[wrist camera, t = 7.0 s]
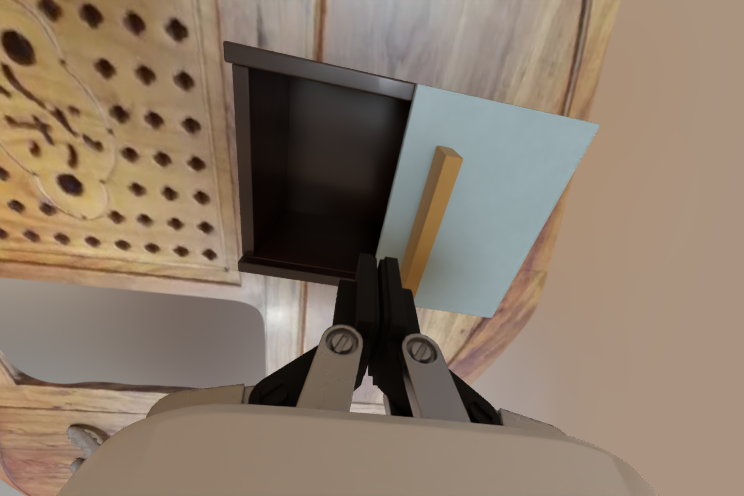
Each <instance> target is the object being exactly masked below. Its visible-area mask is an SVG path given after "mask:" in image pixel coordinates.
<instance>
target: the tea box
mask: <svg viewBox="0 0 744 496" xmlns="http://www.w3.org/2000/svg"><path fill="white" fill-rule="evenodd" d="M223 45H224V59H225V61H226V62H228V63H233V64H232V70H233V88H234V107H235V125H236V143H237V161H238V179H239V198H240V216H241V234H242V252H243V256H242V257H241V259H240V260H239V261H238V271H240V272H247V273H253V274H260V275H267V276H273V277H280V278H287V279H293V280H300V281H306V282H313V283H320V284H326V285H333V286H338V285H339V279H342V280H349V281H355V276H356V271H357V266H358V261H359V256H360V253H366V254H372V255H373V258H375V256H376V252H377V248H378V244H379V239H380V235H381V231H382V226H383V222H384V218H385V214H386V209H387V205H388V201H389V197H390V192H391V188H392V184H393V180H394V175H395V171H396V167H397V163H398V158H399V154H400V150H401V145H402V141H403V137H404V133H405V128H406V124H407V120H408V116H409V111H410V107H411V103H412V99H413V94H414V90H415V86H416V83H412V82H408V81H403V80H399V79H394V78H390V77H385V76H381V75H376V74H372V73H367V72H363V71H358V70H354V69H350V68H345V67H341V66H336V65H332V64H327V63H323V62H318V61H314V60H309V59H305V58H300V57H296V56H291V55H287V54H282V53H278V52H274V51H269V50H265V49H260V48H256V47H251V46H247V45H242V44H238V43H233V42H229V41H224V42H223Z"/></svg>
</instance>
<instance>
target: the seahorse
mask: <svg viewBox="0 0 744 496" xmlns="http://www.w3.org/2000/svg"><path fill="white" fill-rule="evenodd" d="M66 432H67V433H66V435H67V436H69V437H68V439H71V443H75V445H74V446H75V447H79V446H81V449H82V450H85V457H87V458H86V459H85V460H84V461H83V462H82V459H77V460H75V461H74V462H73V463H72V464H71V465H70V470H72V473H73V475H74V473H75V472H76V471H77V470H78V469H79V468H80V467H81V465H82V464H83V463H84V462H85V461H86V460H87V459H88V458H89V457H90V456H91V455H92V454H93V453H94V452H95V450H96V449H97V448H98V447H99V446H100V445H101V444H99V443H98V442H97V439H96V438H93V437H92V436H91V433H87V432H86V431H84V428H81V429H80V428H78V427H75V426H74V427H69V428H68V429H67V430H66Z"/></svg>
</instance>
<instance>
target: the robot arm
mask: <svg viewBox="0 0 744 496" xmlns="http://www.w3.org/2000/svg"><path fill="white" fill-rule="evenodd" d="M367 366H368V376H373V385H377V386H378V388H379V389H380V390H381V391H382V392H383V393H384V394H383V402H384V407H385V412H386V415H379V414H368V413H356V412H349V411H350V406H351V401H352V396H353V391H355V390H356V389H357V388H358V387H359V386H360V385H361V383H362V380H363V376H364V375H365V373H366V369H367ZM57 496H659V495H658V494H657V492H656V491H655V490H654V489H653V488H652V487H651V485H650V484H649V483H648V482H647V481H646V480H645V479H644V478H643V477H642V476H641V475H640V474H639V473H638V472H637V471H636V470H635V469H634V468H633V467H631V466H630V465H629V464H628V463H626V462H624V461H623V460H621V459H620V458H618V457H616V456H615V455H613V454H611V453H609V452H608V451H605V450H603V449H601V448H599V447H597V446H595V445H593V444H590V443H587V442H585V441H582V440H580V439H576V438H574V437H571V436H567V435H566V434H565V433H564V432H562V431H561V430H560V429H558V428H556V427H554V426H552V425H550V424H546V423H543V422H541V421H538V420H534V419H531V418H528V417H525V416H522V415H519V414H516V413H513V412H510V411H507V410H504V409H501V408H500V409H499V410H498V411H497V410H495V409H494V407H493V406H492V405H491V404H490V403H489V402H488V401H486V400H485V399H484V398H483V397H482V396H481V395H479V394H478V393H477V392H476V391H475V390H473V389H472V388H471V387H470V386H469V385H467V384H466V383H465V382H464V381H463V380H461V379H460V378H459V377H458V376H457V375H455V374H454V373H453V372H452V371H451V370H450V369H448V367H447V364H446V362H445V359H444V357H443V355H442V352H441V350H440V348H439V346H438V345H437V344H436V343H435V342H434V341H433V340H432V339H431V338H429V337H428V336H425V335H422V334H420V329H419V324H418V319H417V313H416V308H415V303H414V298H413V293H412V290H411V289H406V288H402V283H401V276H400V270H399V263H398V259H397V258H392V257H386V256H385V258H384V259H380V261H379V264H378V269H377V258H373V255H372V254H366V253H360V256H359V261H358V266H357V271H356V276H355V281H349V280H342V279H339V285H338V291H337V297H336V304H335V311H334V318H333V325H332V326H331V327H329V328H328V329H327V330H325V332H324V333H323V335H322V337H321V340H320V343H319V345H318V346H316V347H314V348H313V349H311V350H310V351H308V352H306V353H305V354H303V355H302V356H300V357H298V358H297V359H295V360H293V361H292V362H290V363H289V364H287V365H285V366H284V367H282V368H281V369H279V370H277V371H276V372H274V373H272V374H271V375H269V376H268V377H266V378H264V379H263V380H261V381H260V382H259V383H258V384H256V385H255V386H247V387H245V386H244V384H237V385H229V386H220V387H212V388H204V389H195V390H187V391H179V392H175V393H172V394H169V395H167V396H165V397H163V398H162V399H160V400H159V401H158V402H157V403H156V404H155V405H154V406H152V408H151V409H150V411H149V413H148V414H147V416H146V418H145V419H142V420H140V421H137V422H135V423H133V424H131V425H129V426H127V427H125V428H123V429H121V430H120V431H118V432H117V433H115V434H114V435H113V436H111V437H110V438H109V439H108V440H106V441H105V442H104V443H103V444H102V445H100V446H99V447H98V448H97V449H96V450H95V452H94V453H93V454H92V455H91V456H90V457H89V458H88V459H87V460H86V461H85V462H84V463H83V464H82V465H81V467H80V468H79V469H78V470H77V471H76V472H75V473H74V475H73V476H72V477H71V478H70V479H69V481H68V482H67V483H66V484H65V486H64V487H63V488H62V489H61V490H60V492H59V493H58V494H57Z"/></svg>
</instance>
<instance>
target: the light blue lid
mask: <svg viewBox="0 0 744 496" xmlns="http://www.w3.org/2000/svg"><path fill="white" fill-rule="evenodd" d="M599 127H600V125H599V124H596V123H592V122H587V121H583V120H578V119H574V118H569V117H565V116H560V115H556V114H551V113H547V112H543V111H538V110H534V109H529V108H525V107H520V106H516V105H511V104H507V103H502V102H498V101H493V100H489V99H484V98H480V97H475V96H471V95H466V94H462V93H458V92H453V91H449V90H444V89H440V88H435V87H431V86H426V85H422V84H416V86H415V90H414V94H413V99H412V103H411V107H410V111H409V116H408V120H407V124H406V128H405V133H404V137H403V141H402V145H401V150H400V154H399V158H398V163H397V167H396V171H395V175H394V180H393V184H392V188H391V192H390V197H389V201H388V205H387V209H386V214H385V218H384V222H383V226H382V231H381V235H380V239H379V244H378V248H377V252H376V256H375V258H377V269H378V264H379V261H380V259H384V258H385V256H386V257H392V258H397V259H398V263H399V270H400V276H401V283H402V288H406V289H411V290H412V293H413V298H414V303H415V307H420V308H427V309H434V310H440V311H447V312H454V313H461V314H468V315H474V316H481V317H488V318H492V317H493V315H494V313H495V311H496V309H497V308H498V306H499V304H500V302H501V301H502V299H503V297H504V295H505V293H506V292H507V290H508V288H509V286H510V285H511V283H512V281H513V279H514V277H515V276H516V274H517V272H518V270H519V269H520V267H521V265H522V263H523V261H524V260H525V258H526V256H527V254H528V253H529V251H530V249H531V247H532V245H533V244H534V242H535V240H536V238H537V237H538V235H539V233H540V231H541V230H542V228H543V226H544V224H545V222H546V221H547V219H548V217H549V215H550V214H551V212H552V210H553V208H554V206H555V205H556V203H557V201H558V199H559V198H560V196H561V194H562V192H563V190H564V189H565V187H566V185H567V183H568V182H569V180H570V178H571V176H572V174H573V173H574V171H575V169H576V167H577V166H578V164H579V162H580V160H581V159H582V157H583V155H584V153H585V151H586V150H587V148H588V146H589V144H590V143H591V141H592V139H593V137H594V135H595V134H596V132H597V130H598V128H599Z"/></svg>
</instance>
